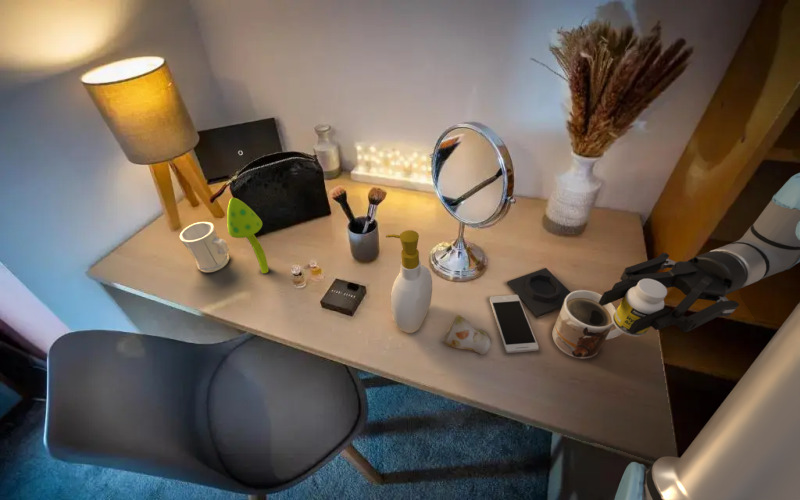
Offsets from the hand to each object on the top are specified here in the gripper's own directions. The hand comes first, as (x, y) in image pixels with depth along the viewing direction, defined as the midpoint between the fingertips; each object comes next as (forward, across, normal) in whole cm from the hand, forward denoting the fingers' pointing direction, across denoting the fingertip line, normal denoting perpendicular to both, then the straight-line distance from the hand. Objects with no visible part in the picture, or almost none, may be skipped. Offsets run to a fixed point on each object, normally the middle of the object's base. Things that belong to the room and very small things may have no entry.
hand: (617, 312), depth 56 cm
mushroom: (+58, +60, -22) cm, 86 cm away
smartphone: (+4, +17, -22) cm, 28 cm away
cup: (+71, +70, -22) cm, 102 cm away
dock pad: (-8, +22, -22) cm, 32 cm away
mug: (-7, +7, -22) cm, 24 cm away
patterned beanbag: (+16, +16, -22) cm, 32 cm away
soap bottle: (+25, +28, -22) cm, 44 cm away
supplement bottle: (-5, 0, -6) cm, 8 cm away
